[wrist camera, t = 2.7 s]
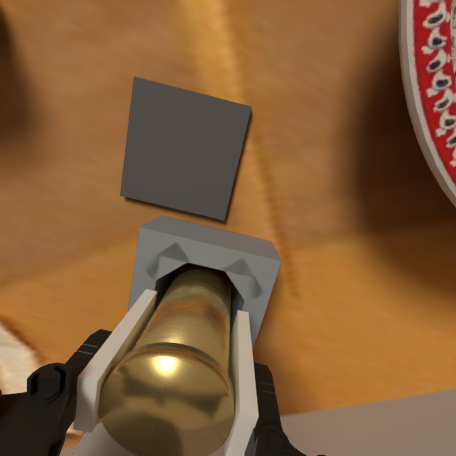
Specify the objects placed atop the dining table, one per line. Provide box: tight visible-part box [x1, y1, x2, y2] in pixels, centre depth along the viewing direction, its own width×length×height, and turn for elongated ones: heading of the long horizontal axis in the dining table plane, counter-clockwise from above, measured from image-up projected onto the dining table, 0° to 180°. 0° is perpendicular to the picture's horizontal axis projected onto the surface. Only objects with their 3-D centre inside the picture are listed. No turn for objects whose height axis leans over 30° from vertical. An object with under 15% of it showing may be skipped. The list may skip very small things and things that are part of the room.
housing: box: [128, 215, 281, 352], centre depth 18 cm, size 10×10×4 cm
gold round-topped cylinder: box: [98, 262, 234, 456], centre depth 15 cm, size 6×6×12 cm
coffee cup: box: [71, 419, 137, 456], centre depth 16 cm, size 8×8×15 cm
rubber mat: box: [120, 77, 252, 220], centre depth 18 cm, size 9×9×1 cm
